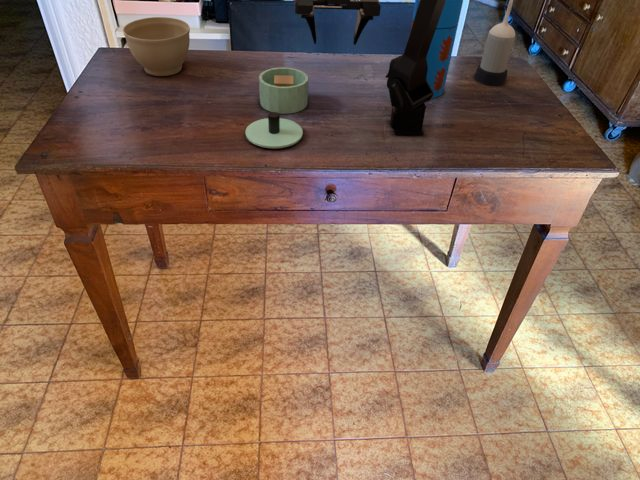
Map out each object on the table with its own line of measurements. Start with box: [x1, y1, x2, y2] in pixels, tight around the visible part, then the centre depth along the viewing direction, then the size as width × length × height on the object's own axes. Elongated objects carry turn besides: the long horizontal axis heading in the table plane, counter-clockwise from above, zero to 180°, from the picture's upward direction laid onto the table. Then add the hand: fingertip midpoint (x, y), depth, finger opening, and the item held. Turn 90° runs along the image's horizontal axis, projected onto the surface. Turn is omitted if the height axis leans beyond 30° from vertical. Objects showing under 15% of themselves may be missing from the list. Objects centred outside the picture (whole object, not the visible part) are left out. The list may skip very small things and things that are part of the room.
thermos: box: [410, 0, 464, 99], centre depth 122 cm, size 11×11×25 cm
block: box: [274, 75, 294, 87], centre depth 120 cm, size 4×4×6 cm
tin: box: [258, 66, 309, 115], centre depth 120 cm, size 11×11×6 cm
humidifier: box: [474, 0, 516, 87], centre depth 129 cm, size 8×8×25 cm
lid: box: [245, 112, 304, 149], centre depth 108 cm, size 12×12×5 cm
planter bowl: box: [122, 16, 191, 77], centre depth 130 cm, size 16×16×11 cm
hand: (334, 43), depth 117 cm, fingers open, 9 cm apart
